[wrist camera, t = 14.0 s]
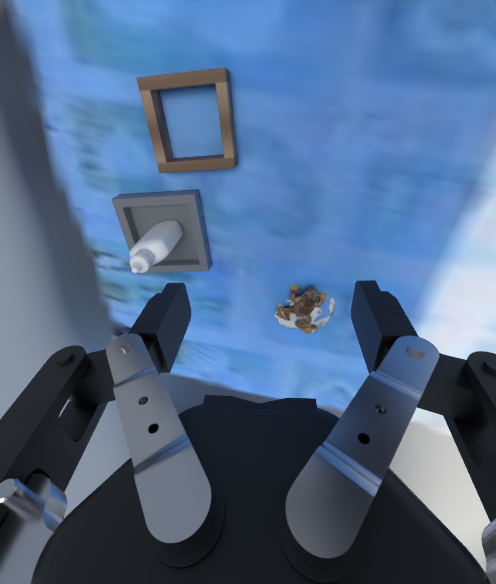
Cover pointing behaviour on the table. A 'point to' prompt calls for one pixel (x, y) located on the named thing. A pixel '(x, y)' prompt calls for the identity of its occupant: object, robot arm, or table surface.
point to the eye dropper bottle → (155, 245)
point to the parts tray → (161, 207)
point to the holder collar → (158, 124)
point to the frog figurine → (304, 310)
